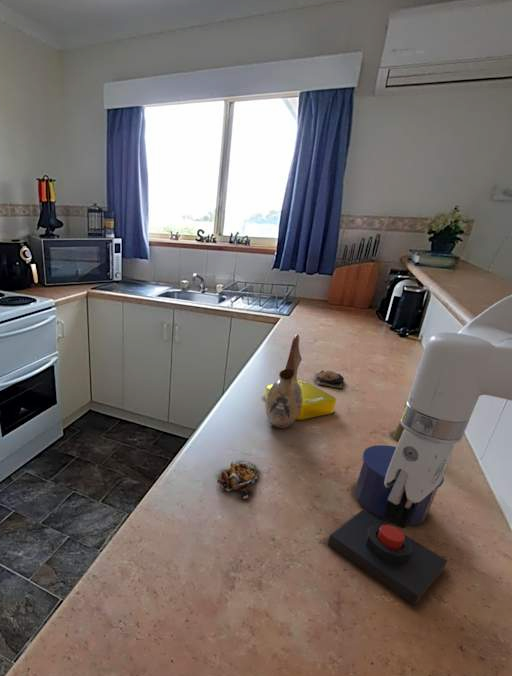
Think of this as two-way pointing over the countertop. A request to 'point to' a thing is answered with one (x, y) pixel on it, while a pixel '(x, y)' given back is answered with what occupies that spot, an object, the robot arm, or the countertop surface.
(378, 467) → the blue round disc
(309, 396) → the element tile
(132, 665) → the countertop surface
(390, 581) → the block
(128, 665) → the countertop surface
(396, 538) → the release button
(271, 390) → the ceramic vessel
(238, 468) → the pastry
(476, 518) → the countertop surface
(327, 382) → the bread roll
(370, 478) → the tin
